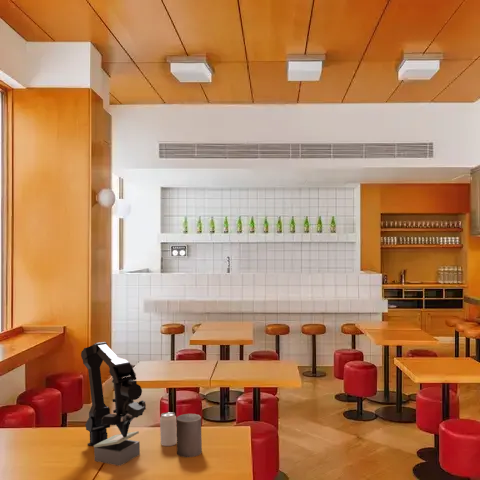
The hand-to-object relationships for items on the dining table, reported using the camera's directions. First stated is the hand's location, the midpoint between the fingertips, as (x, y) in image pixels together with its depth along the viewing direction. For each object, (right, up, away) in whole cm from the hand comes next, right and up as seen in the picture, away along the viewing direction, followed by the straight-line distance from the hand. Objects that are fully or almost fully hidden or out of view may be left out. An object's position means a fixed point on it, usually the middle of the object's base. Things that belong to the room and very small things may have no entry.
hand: (124, 436), depth 217 cm
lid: (-3, -2, +2) cm, 4 cm away
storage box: (-3, -9, +2) cm, 9 cm away
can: (+15, -8, +15) cm, 23 cm away
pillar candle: (+24, -8, +5) cm, 26 cm away
